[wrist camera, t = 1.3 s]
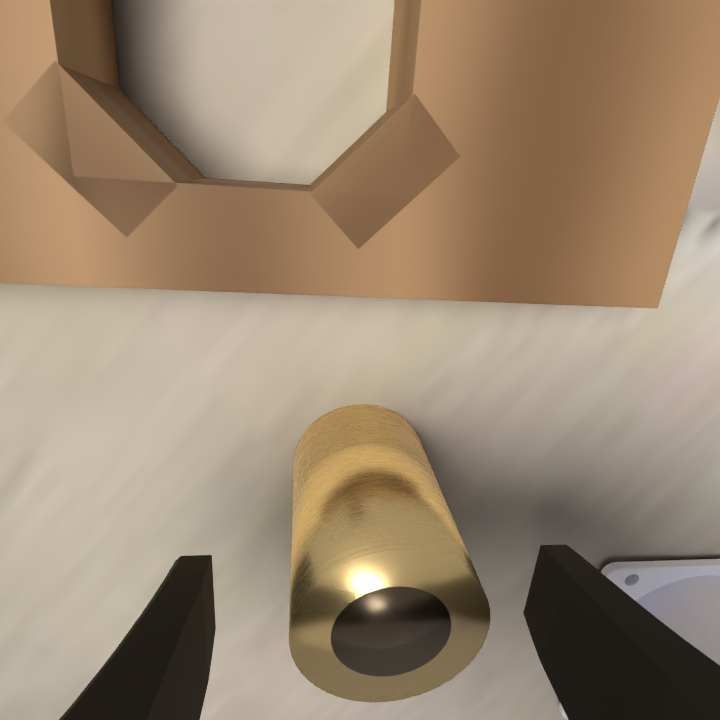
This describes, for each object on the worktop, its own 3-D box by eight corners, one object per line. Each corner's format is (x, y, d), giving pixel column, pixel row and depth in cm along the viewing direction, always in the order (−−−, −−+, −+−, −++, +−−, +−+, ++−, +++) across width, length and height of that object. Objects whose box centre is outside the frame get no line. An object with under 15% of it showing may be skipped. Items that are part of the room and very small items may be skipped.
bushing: (429, 405, 15) (506, 550, 9) (415, 514, 16) (474, 696, 11) (295, 403, 14) (290, 556, 9) (292, 516, 16) (287, 709, 10)
